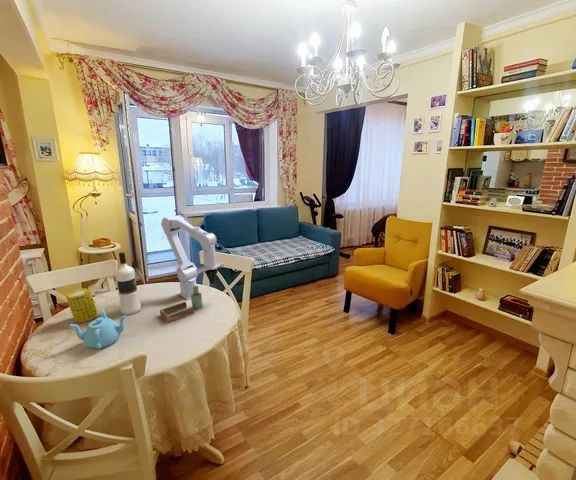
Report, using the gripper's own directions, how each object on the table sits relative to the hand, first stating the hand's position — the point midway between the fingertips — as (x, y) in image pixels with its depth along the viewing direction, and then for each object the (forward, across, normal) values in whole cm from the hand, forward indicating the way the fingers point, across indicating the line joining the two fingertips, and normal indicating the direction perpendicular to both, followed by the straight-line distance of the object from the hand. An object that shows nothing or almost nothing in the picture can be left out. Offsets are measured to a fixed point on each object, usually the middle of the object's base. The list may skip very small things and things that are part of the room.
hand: (211, 283), depth 153 cm
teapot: (+11, -50, +1) cm, 51 cm away
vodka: (+10, -34, +20) cm, 41 cm away
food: (+11, -52, +27) cm, 60 cm away
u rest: (+10, -19, 0) cm, 21 cm away
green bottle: (+10, -9, 0) cm, 14 cm away
